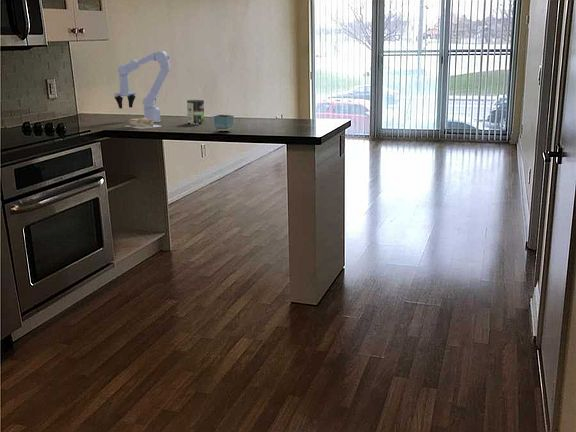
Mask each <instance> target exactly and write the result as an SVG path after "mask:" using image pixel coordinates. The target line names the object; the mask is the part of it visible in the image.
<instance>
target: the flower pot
mask: <svg viewBox="0 0 576 432" xmlns="http://www.w3.org/2000/svg"><path fill="white" fill-rule="evenodd" d="M213 122H214V123H213V124H214V127H215V129H216V130H217V129H228V128H230V127H231V128H232V127H233V125H234V115H230V114H218V115H213Z"/></svg>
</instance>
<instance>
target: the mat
mask: <svg viewBox="0 0 576 432" xmlns="http://www.w3.org/2000/svg"><path fill="white" fill-rule="evenodd" d="M125 127H126V128H127V127H128V128H132V129H133V128H134V129H141V130H143V129H151V128H158V127H161V125H158V124H153V127H141V126H136V127H131V126H129V125H125Z"/></svg>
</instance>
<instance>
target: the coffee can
mask: <svg viewBox="0 0 576 432" xmlns="http://www.w3.org/2000/svg"><path fill="white" fill-rule="evenodd" d="M186 102H187V103H186V105H187V106H186V107H187V124H188V123H203V122H204V123H205V106H204V105H205V104H204V103H205V100H204V99H188V100H186Z"/></svg>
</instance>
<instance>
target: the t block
mask: <svg viewBox="0 0 576 432" xmlns="http://www.w3.org/2000/svg"><path fill="white" fill-rule="evenodd" d="M128 123H129V124H128V126H131V127H130V128H133V127H136V126H141V127H152V128H154V127H153V125H154V122H153V120H150V119H149V118H144V117H137V118H130V119H128Z"/></svg>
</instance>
